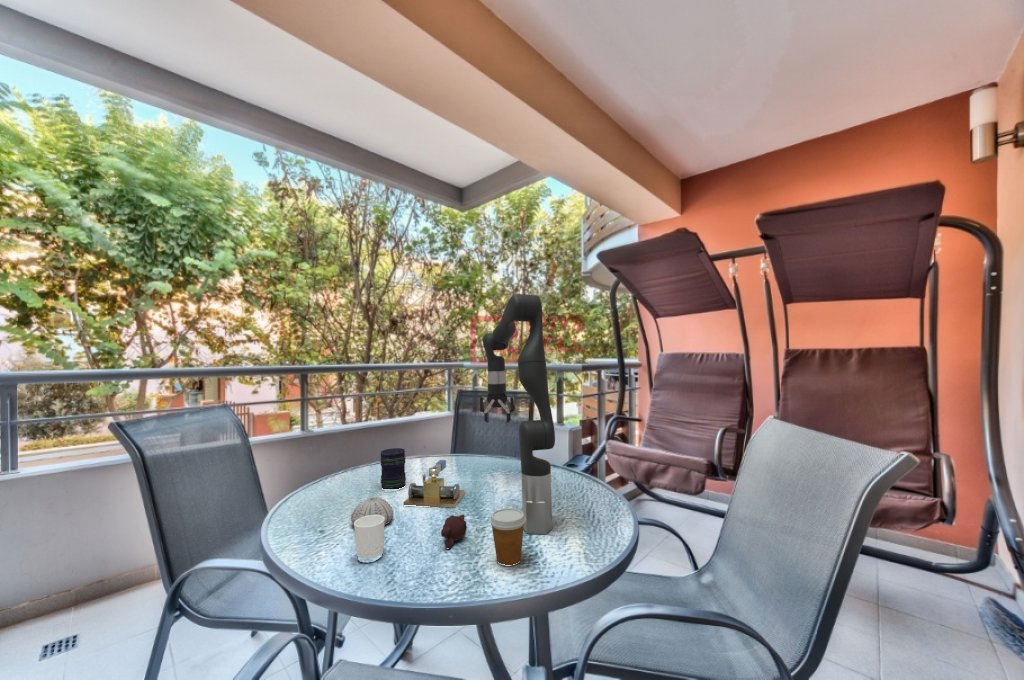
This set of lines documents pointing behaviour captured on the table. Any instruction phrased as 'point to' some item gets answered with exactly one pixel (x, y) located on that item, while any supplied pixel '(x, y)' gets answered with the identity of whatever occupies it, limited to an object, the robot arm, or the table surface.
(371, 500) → the sea urchin shell
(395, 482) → the storage jar
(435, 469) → the lever
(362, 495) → the table surface
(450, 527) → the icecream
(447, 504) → the valve
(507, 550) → the disposable coffee cup
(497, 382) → the robot arm
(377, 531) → the white cup
